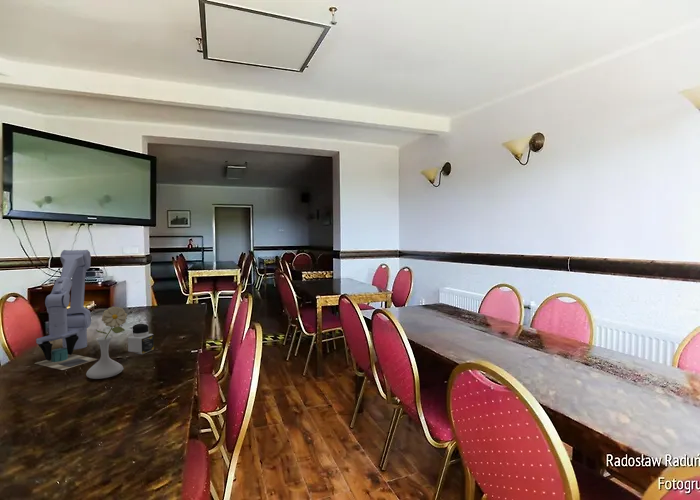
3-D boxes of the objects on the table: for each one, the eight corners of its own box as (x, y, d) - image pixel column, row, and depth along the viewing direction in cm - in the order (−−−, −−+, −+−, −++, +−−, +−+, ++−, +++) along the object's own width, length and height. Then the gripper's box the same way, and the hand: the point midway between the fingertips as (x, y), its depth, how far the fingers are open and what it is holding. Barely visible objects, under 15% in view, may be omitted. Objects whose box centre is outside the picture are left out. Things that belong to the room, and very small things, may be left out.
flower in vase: (83, 384, 129) (81, 311, 128) (88, 373, 139) (86, 305, 138) (127, 377, 135) (126, 308, 134) (129, 367, 145) (127, 302, 144)
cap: (48, 360, 150) (48, 350, 150) (62, 357, 154) (62, 347, 154) (56, 362, 148) (56, 352, 148) (70, 358, 152) (69, 348, 152)
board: (34, 365, 147) (33, 356, 147) (70, 355, 159) (70, 347, 159) (62, 372, 140) (62, 363, 140) (98, 361, 152) (97, 353, 152)
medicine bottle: (142, 354, 160) (141, 326, 160) (127, 353, 162) (127, 325, 161) (154, 349, 167) (153, 322, 167) (140, 348, 169) (139, 322, 168)
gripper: (43, 328, 142) (44, 364, 143) (83, 320, 155) (84, 353, 156) (32, 326, 145) (33, 361, 146) (73, 318, 158) (74, 351, 159)
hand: (59, 357), depth 151 cm, fingers open, 7 cm apart
